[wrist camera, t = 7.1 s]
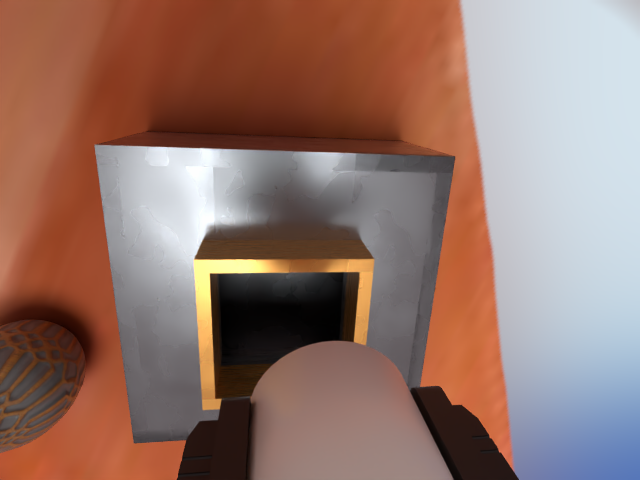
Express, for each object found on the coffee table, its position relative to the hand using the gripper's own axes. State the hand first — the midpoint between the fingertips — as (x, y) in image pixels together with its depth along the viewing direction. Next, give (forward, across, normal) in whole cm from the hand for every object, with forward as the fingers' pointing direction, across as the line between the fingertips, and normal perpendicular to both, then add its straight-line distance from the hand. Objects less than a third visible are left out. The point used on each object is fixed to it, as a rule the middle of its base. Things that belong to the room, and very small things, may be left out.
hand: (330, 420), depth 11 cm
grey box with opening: (+18, +1, +4) cm, 18 cm away
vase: (+18, +17, +9) cm, 26 cm away
